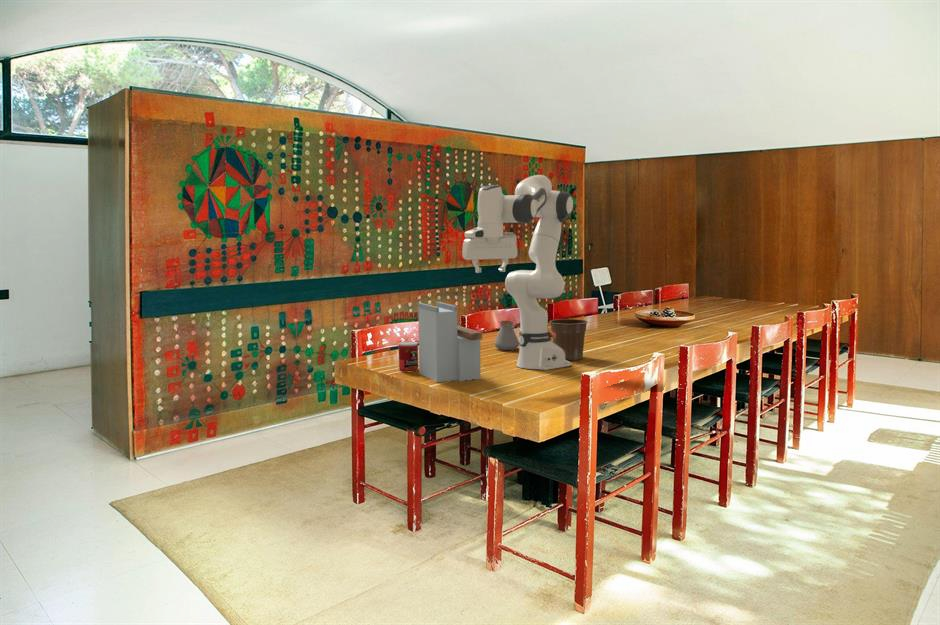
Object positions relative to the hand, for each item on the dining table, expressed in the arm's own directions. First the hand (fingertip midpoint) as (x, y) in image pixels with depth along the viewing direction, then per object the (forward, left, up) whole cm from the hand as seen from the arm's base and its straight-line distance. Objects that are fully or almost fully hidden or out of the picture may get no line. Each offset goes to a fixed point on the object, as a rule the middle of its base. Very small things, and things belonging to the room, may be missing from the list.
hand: (490, 272), depth 249 cm
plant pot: (-55, -33, -41) cm, 76 cm away
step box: (+6, -24, -41) cm, 48 cm away
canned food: (+15, -42, -41) cm, 61 cm away
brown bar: (+1, -19, -25) cm, 32 cm away
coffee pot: (-42, -59, -41) cm, 83 cm away
